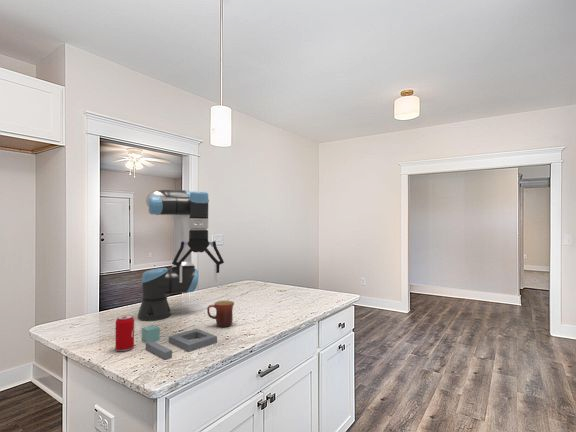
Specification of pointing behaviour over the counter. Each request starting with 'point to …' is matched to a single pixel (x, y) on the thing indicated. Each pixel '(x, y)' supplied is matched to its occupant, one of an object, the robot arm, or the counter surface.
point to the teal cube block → (150, 333)
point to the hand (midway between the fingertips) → (198, 281)
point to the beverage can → (124, 333)
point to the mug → (222, 313)
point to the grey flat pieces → (183, 342)
